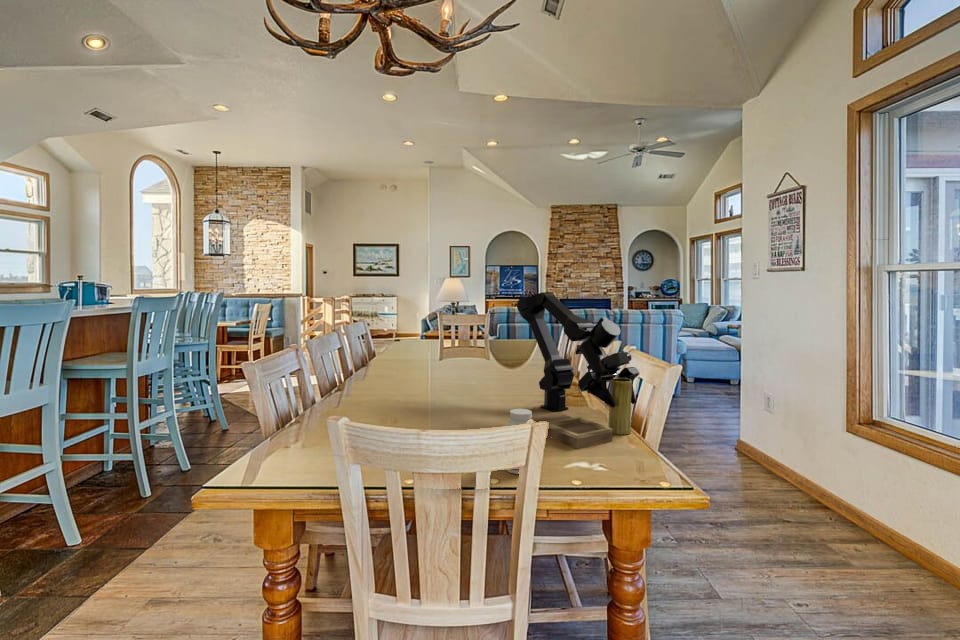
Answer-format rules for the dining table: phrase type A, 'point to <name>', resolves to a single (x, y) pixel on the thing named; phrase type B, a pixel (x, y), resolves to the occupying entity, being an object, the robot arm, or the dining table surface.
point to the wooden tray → (575, 430)
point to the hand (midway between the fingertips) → (624, 405)
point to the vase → (621, 406)
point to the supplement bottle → (518, 418)
